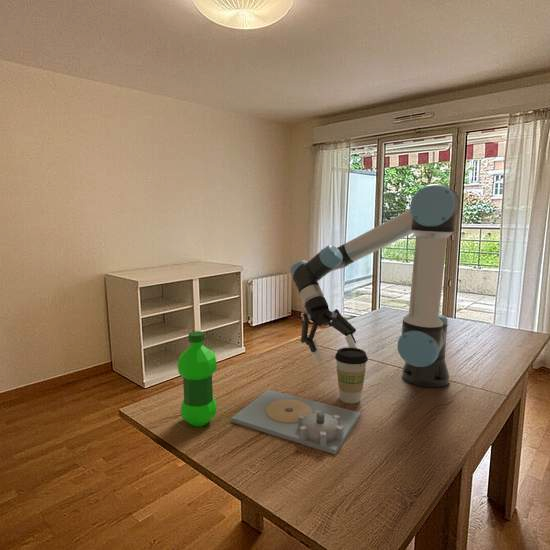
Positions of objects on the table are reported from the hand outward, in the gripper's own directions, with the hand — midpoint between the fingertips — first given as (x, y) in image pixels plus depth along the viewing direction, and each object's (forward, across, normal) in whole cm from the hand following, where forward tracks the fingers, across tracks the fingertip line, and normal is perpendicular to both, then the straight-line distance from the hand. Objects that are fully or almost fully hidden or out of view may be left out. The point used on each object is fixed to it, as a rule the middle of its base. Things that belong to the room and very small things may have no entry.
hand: (338, 357), depth 122 cm
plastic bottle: (+7, +44, -10) cm, 46 cm away
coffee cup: (+12, -1, -5) cm, 13 cm away
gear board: (+14, +20, -2) cm, 25 cm away
